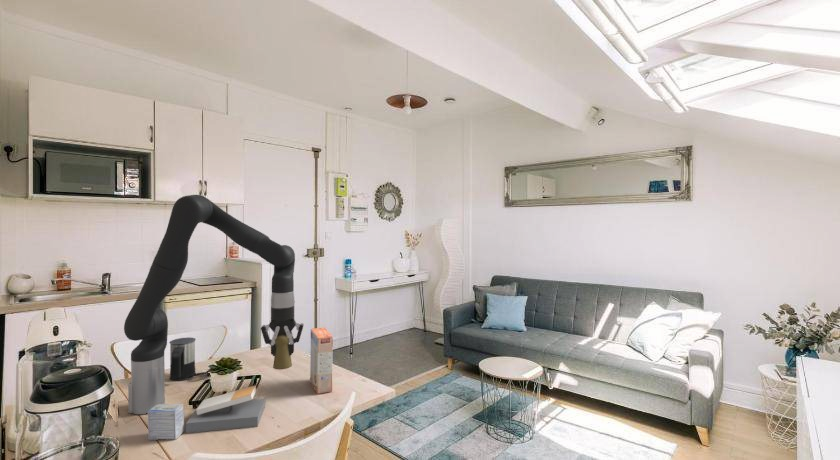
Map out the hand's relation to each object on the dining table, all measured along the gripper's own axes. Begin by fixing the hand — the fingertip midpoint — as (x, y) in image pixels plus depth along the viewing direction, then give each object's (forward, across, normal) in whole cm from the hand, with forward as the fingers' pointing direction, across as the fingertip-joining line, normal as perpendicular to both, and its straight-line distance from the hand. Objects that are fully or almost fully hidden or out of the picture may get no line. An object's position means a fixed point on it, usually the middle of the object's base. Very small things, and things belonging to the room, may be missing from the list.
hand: (282, 354), depth 133 cm
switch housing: (+18, -16, -5) cm, 24 cm away
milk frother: (+18, -39, +34) cm, 55 cm away
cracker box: (+18, +12, +15) cm, 26 cm away
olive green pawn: (+4, 0, 0) cm, 4 cm away
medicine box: (+18, -31, -12) cm, 38 cm away
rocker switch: (+12, -16, -5) cm, 21 cm away
